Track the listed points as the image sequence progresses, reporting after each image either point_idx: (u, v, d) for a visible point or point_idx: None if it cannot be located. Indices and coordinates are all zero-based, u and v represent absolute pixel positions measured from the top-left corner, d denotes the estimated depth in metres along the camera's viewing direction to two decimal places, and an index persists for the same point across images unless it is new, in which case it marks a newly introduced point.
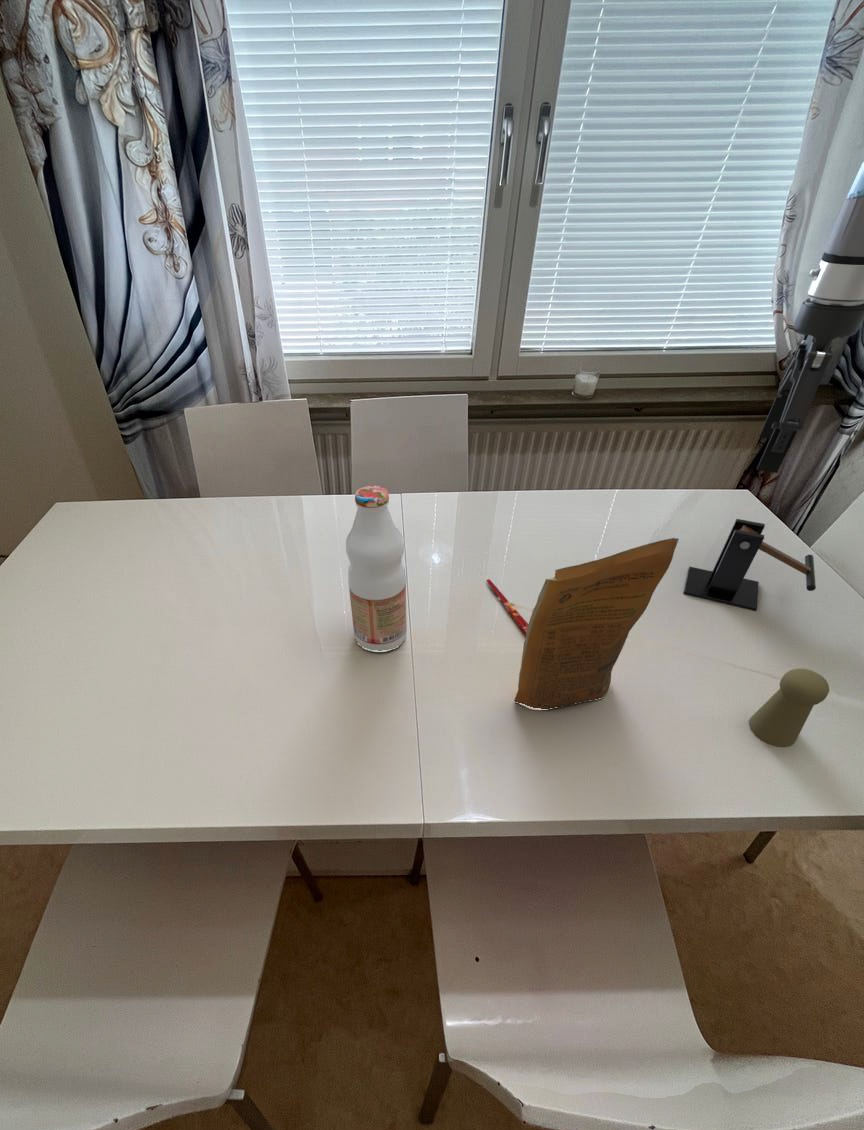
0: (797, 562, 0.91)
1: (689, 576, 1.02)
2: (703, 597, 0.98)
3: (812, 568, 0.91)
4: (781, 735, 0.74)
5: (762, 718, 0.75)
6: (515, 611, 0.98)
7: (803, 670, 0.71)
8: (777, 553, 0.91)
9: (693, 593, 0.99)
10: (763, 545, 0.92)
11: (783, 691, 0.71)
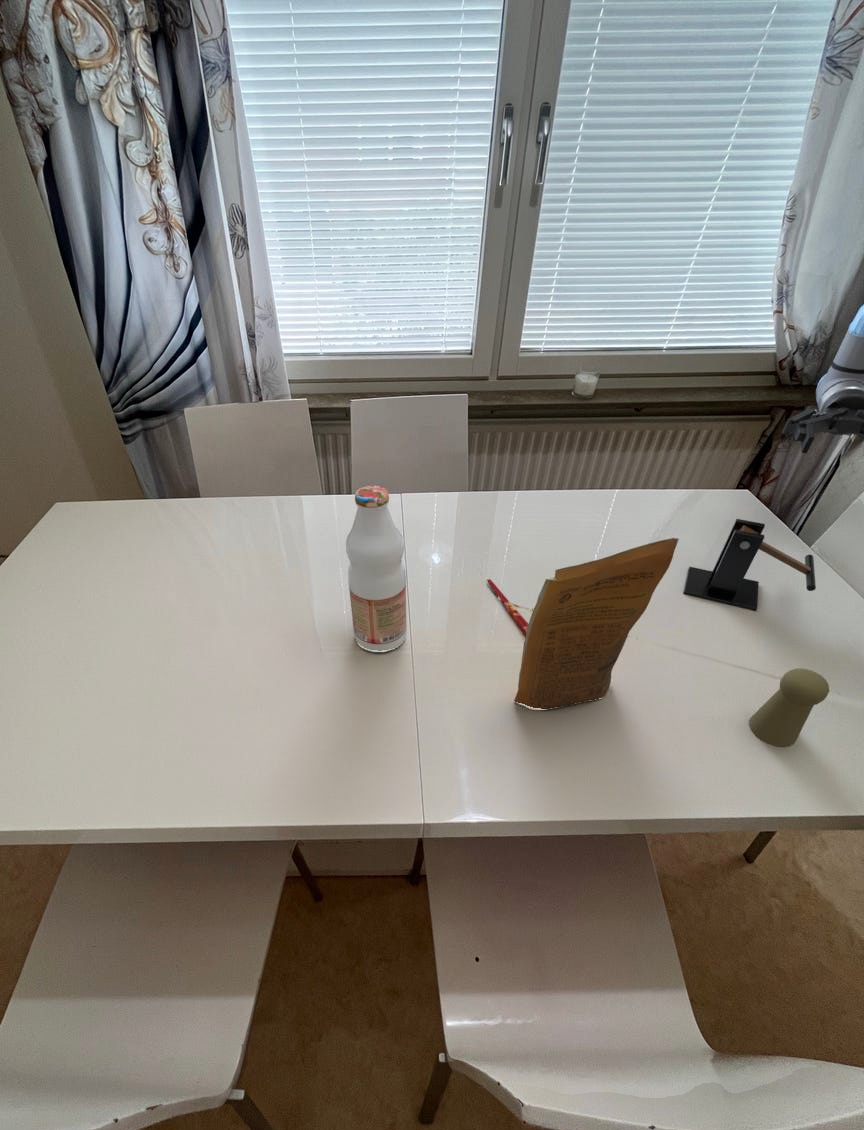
0: (797, 562, 0.91)
1: (689, 576, 1.02)
2: (703, 597, 0.98)
3: (812, 568, 0.91)
4: (781, 734, 0.74)
5: (762, 718, 0.75)
6: (515, 611, 0.98)
7: (803, 670, 0.71)
8: (777, 553, 0.91)
9: (693, 593, 0.99)
10: (763, 545, 0.92)
11: (783, 691, 0.71)
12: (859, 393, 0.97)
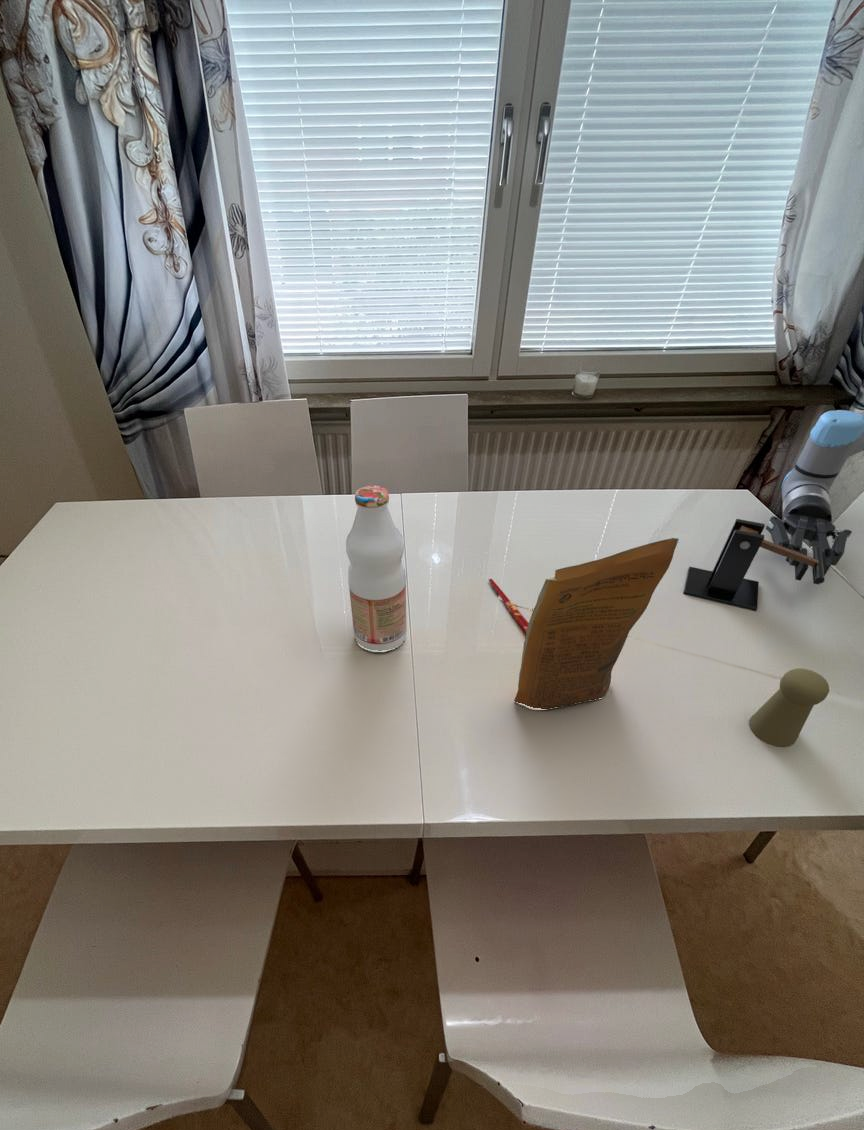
0: (803, 556, 0.90)
1: (689, 576, 1.02)
2: (703, 597, 0.98)
3: (820, 560, 0.90)
4: (781, 734, 0.74)
5: (762, 718, 0.75)
6: (516, 611, 0.98)
7: (803, 670, 0.71)
8: (780, 549, 0.91)
9: (693, 593, 0.99)
10: (765, 543, 0.91)
11: (783, 691, 0.71)
12: (818, 502, 1.01)
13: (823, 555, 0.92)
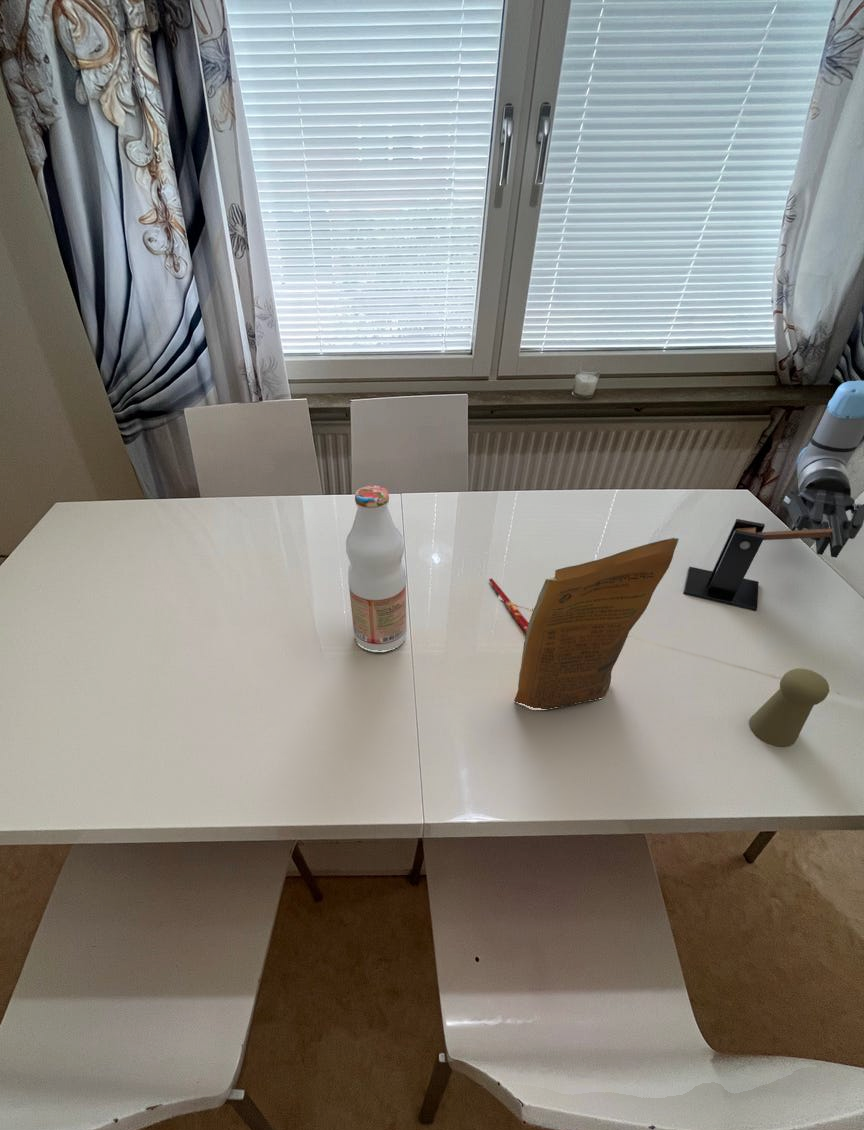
0: (813, 531, 0.87)
1: (689, 576, 1.02)
2: (703, 597, 0.98)
3: (834, 528, 0.86)
4: (781, 734, 0.74)
5: (762, 718, 0.75)
6: (517, 611, 0.98)
7: (803, 670, 0.71)
8: (786, 534, 0.89)
9: (693, 593, 0.99)
10: (767, 535, 0.90)
11: (783, 691, 0.71)
12: (836, 475, 0.97)
13: (841, 527, 0.89)
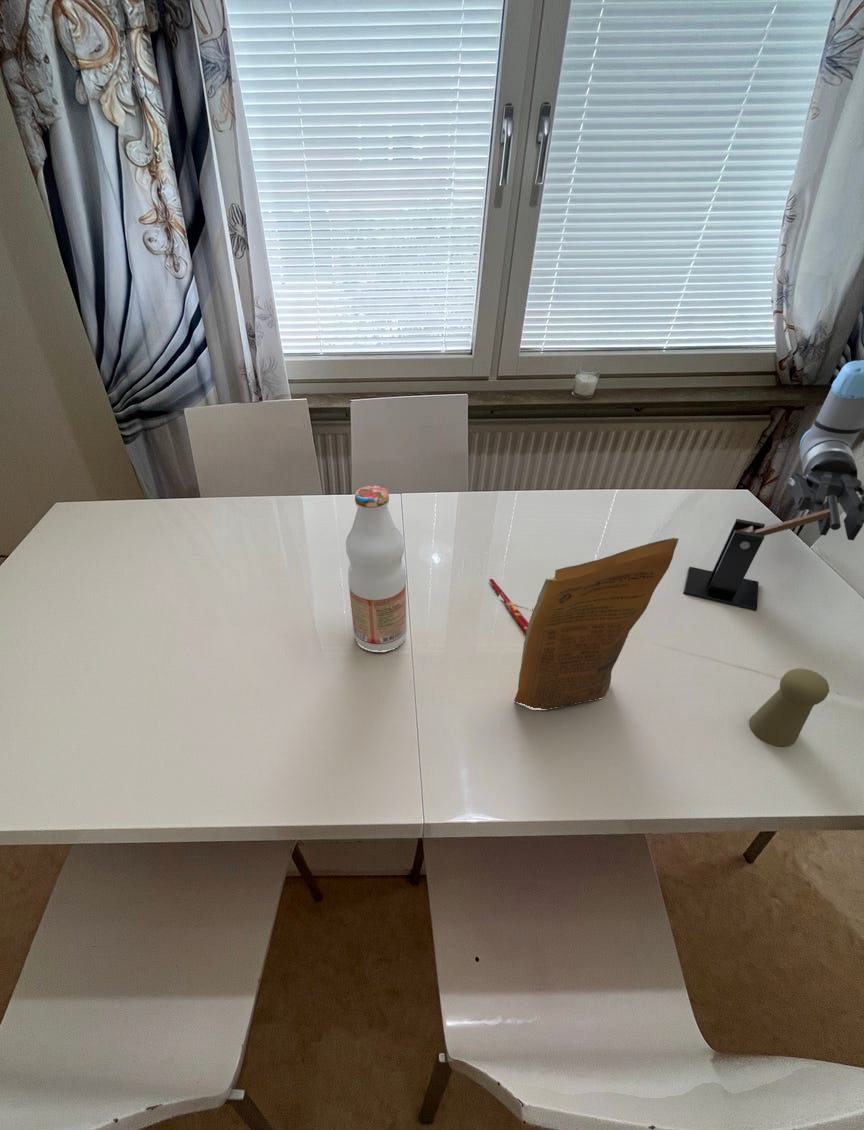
0: (810, 515, 0.86)
1: (689, 576, 1.02)
2: (703, 597, 0.98)
3: (831, 507, 0.84)
4: (781, 734, 0.74)
5: (762, 718, 0.75)
6: (517, 611, 0.98)
7: (803, 670, 0.71)
8: (784, 525, 0.88)
9: (693, 593, 0.99)
10: (765, 530, 0.90)
11: (783, 691, 0.71)
12: (842, 457, 0.95)
13: (857, 509, 0.86)
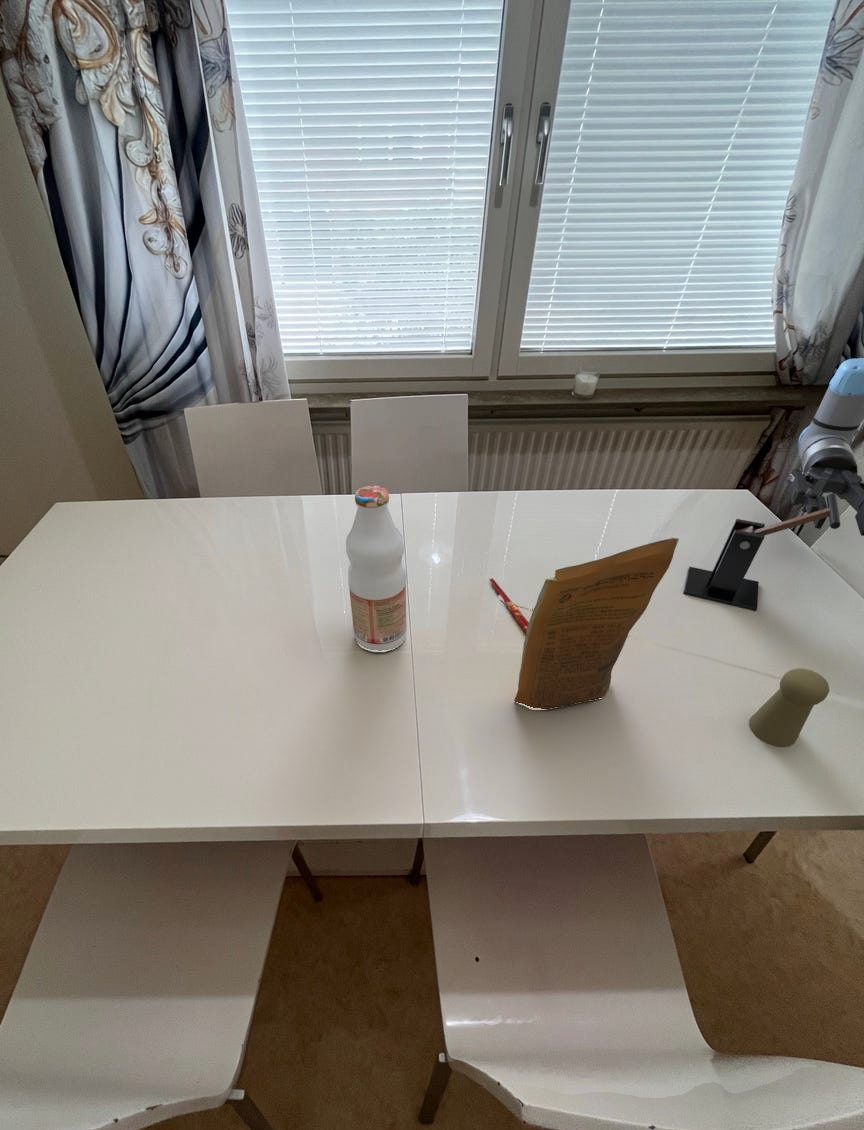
0: (810, 515, 0.86)
1: (689, 576, 1.02)
2: (703, 597, 0.98)
3: (831, 506, 0.84)
4: (781, 735, 0.74)
5: (762, 718, 0.75)
6: (517, 610, 0.98)
7: (803, 670, 0.71)
8: (784, 524, 0.88)
9: (693, 593, 0.99)
10: (765, 530, 0.90)
11: (783, 691, 0.71)
12: (842, 453, 0.96)
13: None
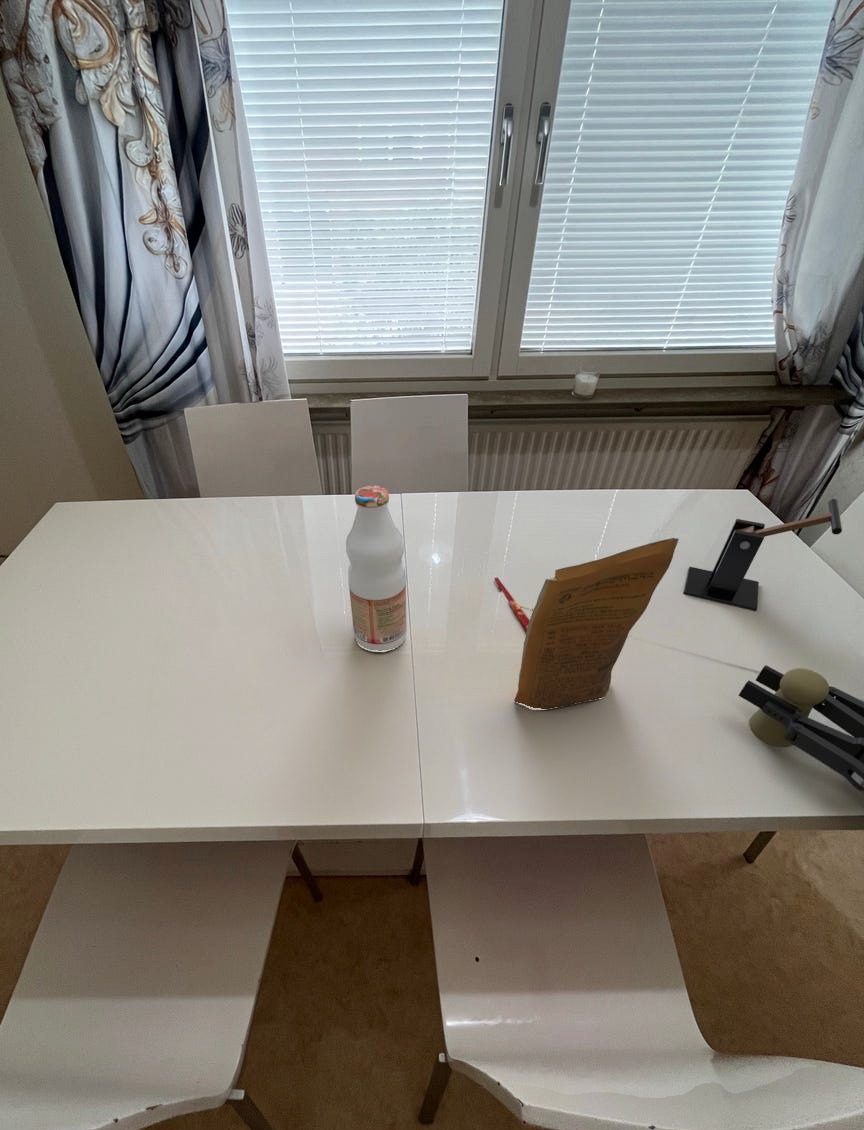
0: (812, 519, 0.86)
1: (689, 576, 1.02)
2: (703, 597, 0.98)
3: (833, 512, 0.85)
4: (781, 734, 0.74)
5: (763, 718, 0.75)
6: (520, 610, 0.98)
7: (803, 670, 0.71)
8: (785, 527, 0.88)
9: (693, 593, 0.99)
10: (765, 531, 0.90)
11: (783, 691, 0.71)
12: None
13: (786, 704, 0.71)
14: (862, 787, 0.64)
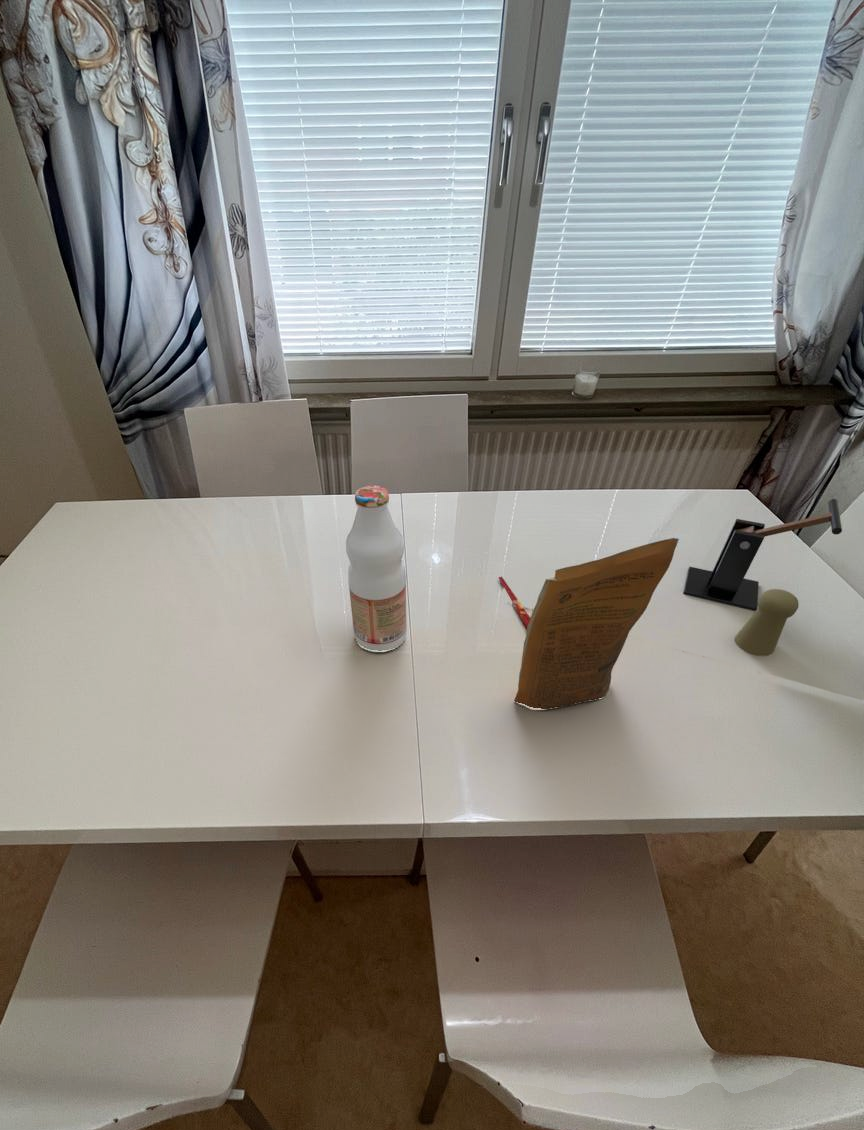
0: (812, 519, 0.86)
1: (689, 576, 1.02)
2: (703, 597, 0.98)
3: (833, 512, 0.85)
4: (759, 647, 0.86)
5: (743, 635, 0.88)
6: (522, 609, 0.98)
7: (777, 590, 0.83)
8: (785, 527, 0.88)
9: (693, 593, 0.99)
10: (765, 531, 0.90)
11: (760, 608, 0.84)
12: None
13: None
14: None
